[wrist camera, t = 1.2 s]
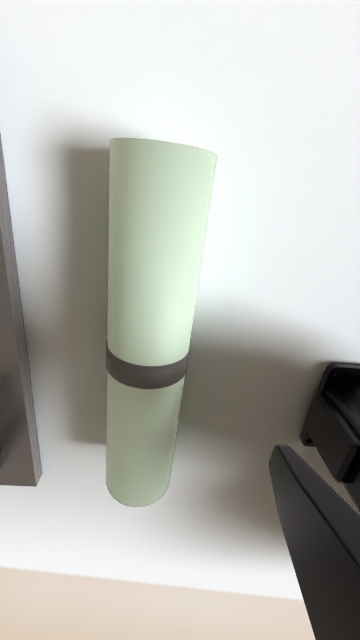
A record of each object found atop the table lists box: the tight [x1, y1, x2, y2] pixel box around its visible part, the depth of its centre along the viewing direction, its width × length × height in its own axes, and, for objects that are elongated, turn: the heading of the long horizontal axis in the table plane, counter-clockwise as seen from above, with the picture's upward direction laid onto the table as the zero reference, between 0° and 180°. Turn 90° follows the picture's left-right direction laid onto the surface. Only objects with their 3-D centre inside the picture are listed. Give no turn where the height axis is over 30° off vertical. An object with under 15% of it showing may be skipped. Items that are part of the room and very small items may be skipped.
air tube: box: [106, 138, 217, 507], centre depth 15 cm, size 4×18×4 cm, turn 174°
